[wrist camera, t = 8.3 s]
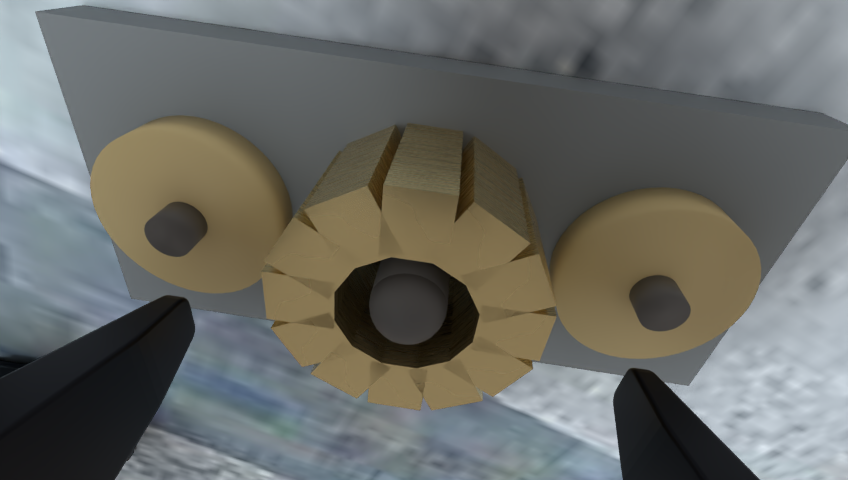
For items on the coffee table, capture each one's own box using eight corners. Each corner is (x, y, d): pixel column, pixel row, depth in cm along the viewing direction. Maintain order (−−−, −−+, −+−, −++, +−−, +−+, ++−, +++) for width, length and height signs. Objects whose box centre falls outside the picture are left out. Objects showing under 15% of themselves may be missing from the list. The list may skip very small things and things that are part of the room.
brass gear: (506, 329, 14) (514, 425, 11) (314, 300, 15) (274, 387, 12) (563, 146, 11) (595, 216, 8) (309, 108, 11) (249, 164, 8)
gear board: (672, 352, 16) (749, 509, 12) (157, 272, 17) (35, 394, 12) (822, 113, 11) (1060, 222, 7) (82, 5, 12) (-175, 38, 7)
